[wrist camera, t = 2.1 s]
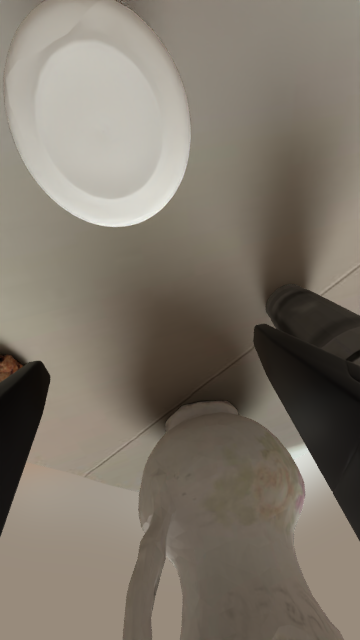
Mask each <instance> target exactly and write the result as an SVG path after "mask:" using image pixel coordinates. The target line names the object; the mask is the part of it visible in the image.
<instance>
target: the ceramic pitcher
mask: <svg viewBox="0 0 360 640" xmlns="http://www.w3.org/2000/svg"><path fill="white" fill-rule="evenodd" d="M165 428H166V434H165V435H164V436H163V437H162V438H161V439H160V441H159V442H158V443H157V445H156V446H155V448H154V449H153V451H152V453H151V454H150V456H149V458H148V460H147V463H146V466H145V468H144V472H143V477H142V482H141V488H140V492H139V509H138V510H139V518H140V523H141V527H142V529H143V531H144V532H145V535H144V536H143V538H142V540H141V542H140V547H139V553H138V559H137V562H136V565H135V568H134V571H133V574H132V577H131V580H130V583H129V587H128V591H127V597H126V607H125V618H124V629H123V640H152V629H151V614H152V610H153V605H154V600H155V595H156V591H157V588H158V584H159V580H160V576H161V573H162V569H163V566H164V563H165V559H166V558H165V557H166V556H167V558H168V559H169V560H170V561H171V562H172V564H173V565H174V566H175V568H176V569H177V571H178V575H179V577H180V583H181V589H182V595H183V608H182V627H181V636H180V640H344V639H343V637H342V635H341V633H340V631H339V630H338V629H337V628H336V627H335V626H334V625H333V624H332V623H331V622H330V620H329V619H328V617H327V616H326V614H325V613H324V612H323V610H322V609H321V607H320V606H319V604H318V603H317V601H316V600H315V598H314V597H313V595H312V593H311V591H310V589H309V587H308V585H307V583H306V581H305V579H304V577H303V574H302V572H301V569H300V566H299V564H298V561H297V558H296V553H295V549H294V529H295V527H296V524H297V521H298V519H299V516H300V514H301V511H302V507H303V503H304V498H305V486H304V481H303V479H302V476H301V474H300V472H299V469H298V467H297V466H296V464H295V462H294V460H293V459H292V457H291V455H290V453H289V452H288V451H287V449H286V448H285V447H284V446H283V444H282V443H281V442H280V441H279V440H278V438H277V437H275V436H274V435H273V434H272V433H271V432H270V431H269V430H267V429H266V428H265V427H263V426H262V425H261V424H259V423H258V422H256V421H254V420H252V419H249V418H246V417H243V416H240V415H239V412H238V410H237V409H236V408H235V407H234V406H233V405H232V404H230V403H229V402H228V401H208V402H197V403H193V404H188V405H183V406H182V407H181V408H179V409H178V410H177V411H176V412H175V413H174V414H173V415H172V416H171V417H170V418H169V419H168V420H167V421H166V425H165Z"/></svg>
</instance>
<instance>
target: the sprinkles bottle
mask: <svg viewBox="0 0 360 640" xmlns="http://www.w3.org/2000/svg"><path fill="white" fill-rule="evenodd" d="M3 82H4V101H5V109H6V115H7V119H8V124H9V127H10V131H11V134H12V137H13V140H14V143H15V145H16V147H17V150H18V152H19V154H20V156H21V158H22V160H23V162H24V164H25V165H26V167H27V169H28V171H29V172H30V173H31V175H32V176H33V178H34V179H35V181H36V182H37V183H38V184H39V186H40V187H41V188H42V189H43V190H44V192H45V193H46V194H47V195H48V196H49V197H50V198H51V199H53V200H54V201H55V202H56V203H57V204H58V205H60V206H61V207H62V208H64V209H65V210H66V211H68V212H69V213H71V214H73V215H75V216H76V217H78V218H80V219H82V220H85V221H87V222H90V223H93V224H97V225H101V226H108V227H124V226H130V225H134V224H138V223H140V222H143V221H145V220H147V219H149V218H150V217H152V216H154V215H155V214H156V213H158V212H159V211H160V210H161V209H162V208H163V207H164V206H165V205H166V204H167V203H168V202H169V201H170V199H171V198H172V197H173V195H174V194H175V192H176V191H177V189H178V187H179V185H180V183H181V181H182V179H183V176H184V173H185V170H186V167H187V163H188V159H189V152H190V142H191V122H190V113H189V107H188V101H187V96H186V92H185V89H184V86H183V83H182V80H181V78H180V75H179V72H178V70H177V68H176V66H175V64H174V61H173V59H172V57H171V56H170V54H169V52H168V51H167V49H166V47H165V46H164V45H163V43H162V42H161V40H160V39H159V38H158V36H157V35H156V34H155V32H154V31H153V30H152V29H151V28H150V27H149V26H148V25H147V24H146V23H145V22H144V21H143V20H142V19H141V18H140V17H139V16H138V15H137V14H136V13H135V12H133V11H132V10H131V9H129V8H127V7H125V6H123V5H122V4H121V3H119V2H117V1H115V0H45V1H43V2H42V3H41V4H40V5H38V6H36V7H35V8H34V9H33V10H32V11H31V12H30V13H29V14H28V16H27V17H26V18H25V19H24V20H23V22H22V23H21V24H20V26H19V27H18V29H17V31H16V33H15V35H14V37H13V39H12V42H11V45H10V48H9V51H8V55H7V59H6V64H5V70H4V80H3Z"/></svg>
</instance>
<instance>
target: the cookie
mask: <svg viewBox="0 0 360 640" xmlns="http://www.w3.org/2000/svg"><path fill="white" fill-rule="evenodd" d="M19 363H20V362H19ZM19 363H18V362H17V360H15V359H13V358H12V356H10V355H5V356H4V355H0V382H1V381H3V380H4V379H6V378H7V377H9V376H10V375H11V374H13V373H14V372H16V371H17V370H19V369H20V368H22V367H23V365H22V364H19Z"/></svg>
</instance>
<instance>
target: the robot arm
mask: <svg viewBox="0 0 360 640" xmlns="http://www.w3.org/2000/svg"><path fill="white" fill-rule="evenodd" d="M253 342H254V346H255V349H256V351H257V353H258V356H259V358H260V361H261V363H262V366H263V368H264V370H265V373H266V375H267V377H268V379H269V381H270V382H271V384H272V386H273V388H274V390H275V391H276V393H277V395H278V397H279V398H280V400H281V402H282V404H283V405H284V407H285V409H286V411H287V413H288V414H289V416H290V418H291V420H292V421H293V423H294V425H295V427H296V429H297V430H298V432H299V434H300V436H301V437H302V439H303V441H304V443H305V445H306V446H307V448H308V450H309V452H310V453H311V455H312V457H313V459H314V460H315V462H316V464H317V466H318V468H319V469H320V471H321V473H322V475H323V476H324V478H325V480H326V482H327V483H328V485H329V487H330V489H331V491H333V494H334V496H335V498H336V500H337V502H338V503H339V505H340V507H341V509H342V510H343V512H344V514H345V516H346V518H347V519H348V521H349V523H350V525H351V526H352V528H353V530H354V532H355V533H356V535H357V537H358V539H359V541H360V366H359V365H357V364H355V363H352V362H350V361H346V360H345V359H343V358H341V357H339V356H337V355H334V354H332V353H330V352H328V351H325V350H323V349H321V348H319V347H316V346H314V345H312V344H310V343H307V342H305V341H303V340H301V339H298V338H296V337H294V336H292V335H289V334H287V333H285V332H283V331H280V330H278V329H276V328H274V327H271V326H269V325H267V324H259V325H256V326H255V327H254V339H253ZM49 384H50V375H49V373H48V371H47V369H46V368H45V366H44V364H43V363H42V362H41V361H33V362H29V363H27V364H26V365H24V366H23V367H22V368H20V369H19V370H17V371H16V372H14V373H13V374H11V375H10V376H9V377H7V378H6V379H4V380H3V381H1V382H0V536H1V533H2V530H3V527H4V525H5V522H6V518H7V516H8V513H9V510H10V507H11V504H12V501H13V499H14V496H15V493H16V490H17V487H18V484H19V481H20V478H21V475H22V472H23V469H24V467H25V464H26V461H27V458H28V455H29V452H30V449H31V446H32V443H33V441H34V438H35V435H36V432H37V429H38V426H39V423H40V420H41V417H42V414H43V410H44V406H45V401H46V397H47V393H48V388H49Z"/></svg>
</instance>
